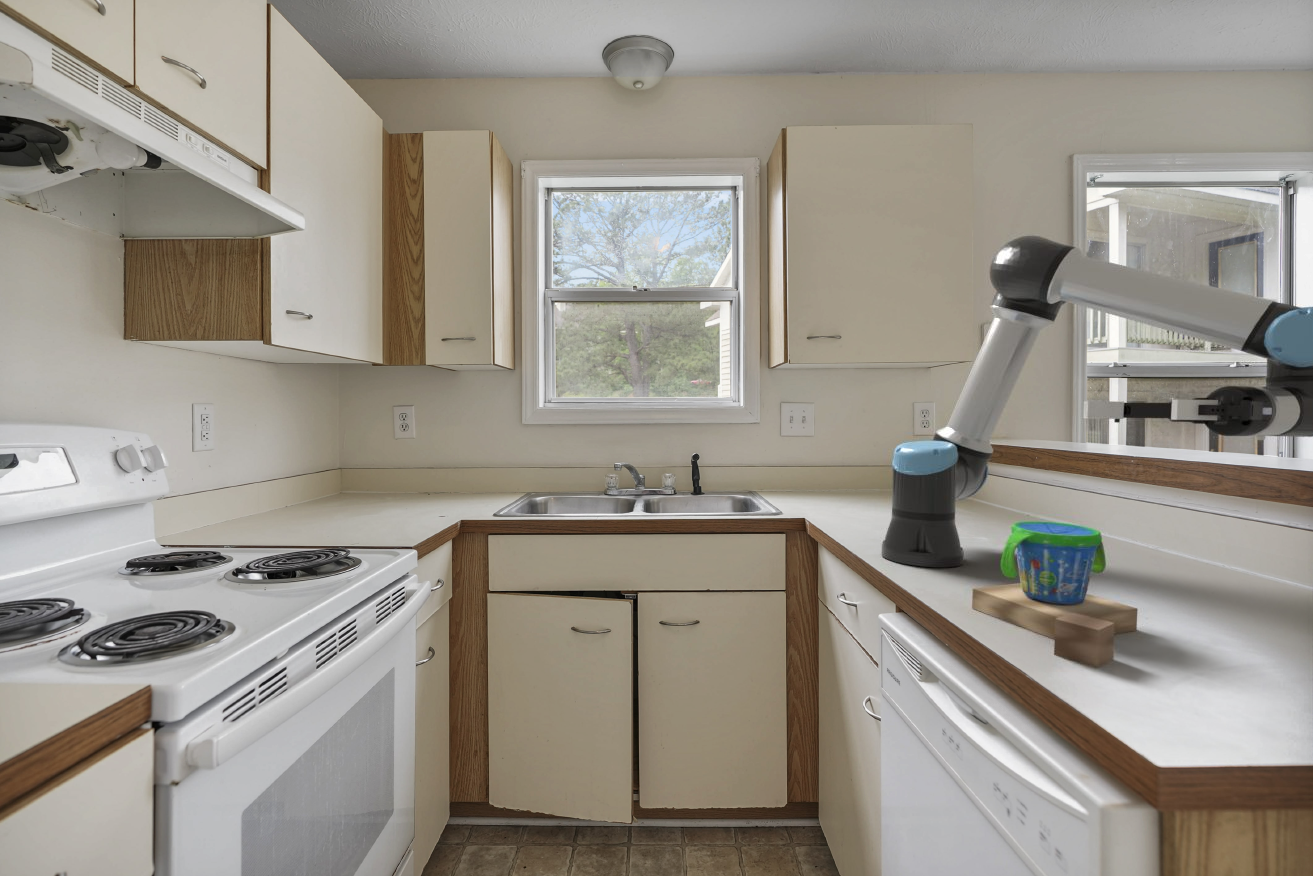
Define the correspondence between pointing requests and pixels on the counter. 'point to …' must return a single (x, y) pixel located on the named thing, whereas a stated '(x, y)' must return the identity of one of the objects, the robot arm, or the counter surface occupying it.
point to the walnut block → (1084, 639)
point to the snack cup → (1053, 559)
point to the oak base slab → (1048, 609)
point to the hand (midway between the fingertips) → (1126, 409)
